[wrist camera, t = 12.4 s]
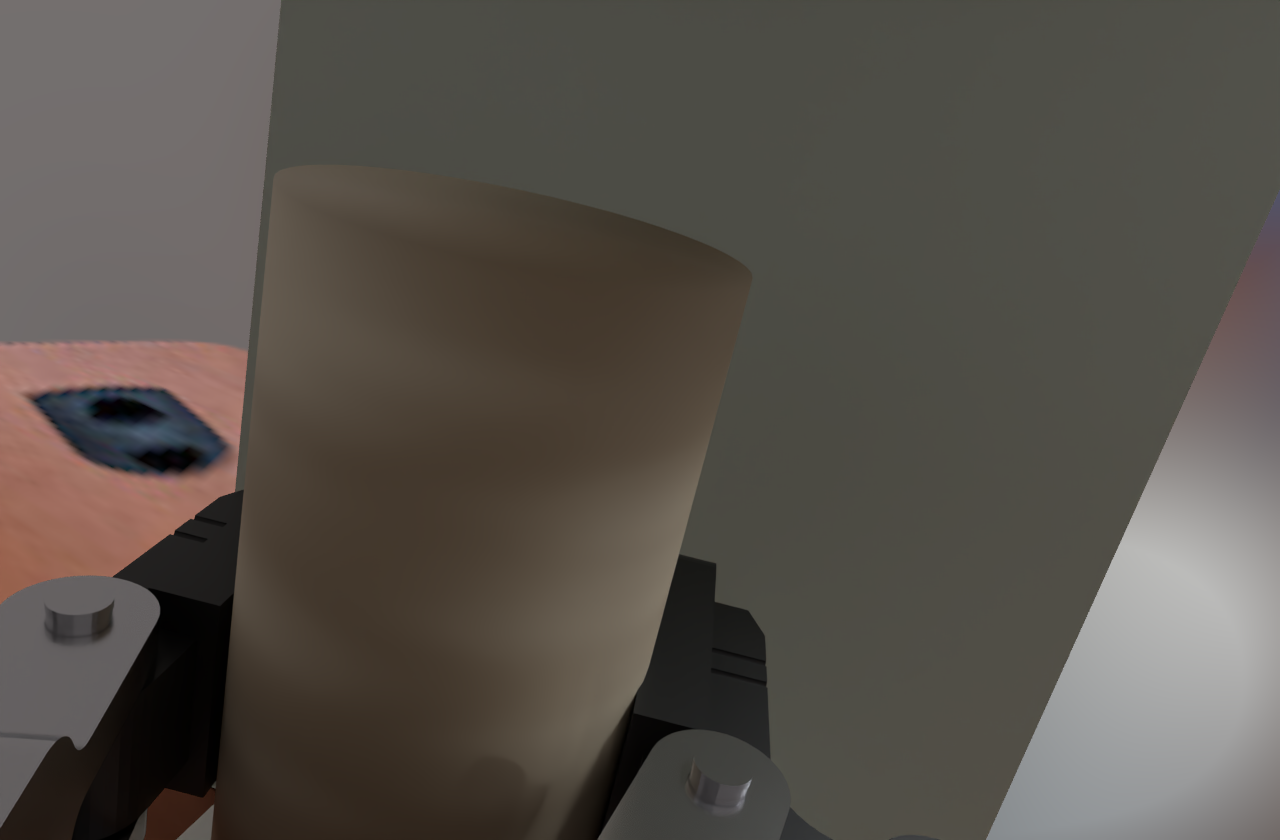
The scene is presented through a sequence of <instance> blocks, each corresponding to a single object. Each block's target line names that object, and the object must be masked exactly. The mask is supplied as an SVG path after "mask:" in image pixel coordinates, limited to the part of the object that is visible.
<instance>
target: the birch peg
mask: <svg viewBox="0 0 1280 840" xmlns="http://www.w3.org/2000/svg"><path fill="white" fill-rule="evenodd" d="M752 279H753V277H752V273H751V272H750V270H749V269H748V268H747V267H746V266H745V265H743V264H742V263H741V262H739V261H738V260H736V259H734V258H733V257H731V256H729V255H728V254H726V253H724V252H722V251H720V250H718V249H716V248H713V247H711V246H709V245H706V244H704V243H702V242H699V241H697V240H694V239H692V238H689V237H687V236H684V235H681V234H679V233H676V232H673V231H670V230H667V229H664V228H661V227H658V226H655V225H652V224H649V223H646V222H643V221H640V220H636V219H633V218H630V217H626V216H623V215H620V214H616V213H612V212H609V211H605V210H602V209H598V208H594V207H590V206H586V205H583V204H579V203H575V202H571V201H567V200H562V199H558V198H554V197H550V196H546V195H541V194H537V193H532V192H528V191H523V190H518V189H513V188H508V187H504V186H499V185H493V184H488V183H483V182H477V181H472V180H466V179H460V178H454V177H448V176H442V175H435V174H429V173H421V172H414V171H406V170H398V169H389V168H380V167H368V166H354V165H302V166H295V167H289V168H286V169H282V170H280V171H278V172H277V173H276V174H275V175H274V179H273V188H272V199H271V209H270V220H269V230H268V241H267V251H266V262H265V273H264V283H263V294H262V304H261V315H260V325H259V336H258V346H257V357H256V368H255V378H254V389H253V399H252V410H251V420H250V431H249V442H248V452H247V463H246V473H245V484H244V494H243V505H242V515H241V526H240V537H239V547H238V558H237V568H236V579H235V589H234V600H233V611H232V621H231V632H230V642H229V653H228V663H227V674H226V684H225V695H224V706H223V716H222V727H221V737H220V748H219V758H218V769H217V779H216V790H215V801H214V811H213V822H212V832H211V840H597V839H598V838H599V834H600V830H601V826H602V822H603V819H604V815H605V811H606V807H607V804H608V800H609V796H610V792H611V789H612V785H613V781H614V777H615V774H616V770H617V766H618V762H619V758H620V755H621V751H622V747H623V743H624V740H625V736H626V732H627V728H628V725H629V721H630V717H631V713H632V710H633V706H634V702H635V698H636V694H637V691H638V689H639V687H640V686H641V684H642V683H643V681H644V678H645V676H646V673H647V670H648V668H649V664H650V660H651V657H652V653H653V649H654V645H655V642H656V638H657V634H658V630H659V627H660V623H661V619H662V616H663V612H664V608H665V604H666V601H667V597H668V593H669V589H670V586H671V582H672V578H673V574H674V571H675V567H676V563H677V559H678V556H679V552H680V548H681V545H682V541H683V537H684V533H685V530H686V526H687V522H688V518H689V515H690V511H691V507H692V503H693V500H694V496H695V492H696V488H697V485H698V481H699V477H700V474H701V470H702V466H703V462H704V459H705V455H706V451H707V447H708V444H709V440H710V436H711V432H712V429H713V425H714V421H715V417H716V414H717V410H718V406H719V403H720V399H721V395H722V391H723V388H724V384H725V380H726V376H727V373H728V369H729V365H730V361H731V358H732V354H733V350H734V346H735V343H736V339H737V335H738V332H739V328H740V324H741V320H742V317H743V313H744V309H745V305H746V302H747V298H748V294H749V290H750V287H751V283H752Z"/></svg>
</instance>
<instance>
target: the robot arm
mask: <svg viewBox="0 0 1280 840" xmlns="http://www.w3.org/2000/svg"><path fill="white" fill-rule="evenodd" d="M243 494H244V489H243V490H240V491H237V492H234V493H231V494H228V495H225V496H222V497H219V498H218V499H217V500H215V501H214V502H213V503H211V504H210V505H209V506H207V507H206V508H205V509H203V510H202V511H200V512H199V513H198V514H196V515H195V519H194V520H193V519H190V520H188V521H187V522H186V523H184V524H183V525H182V526H180V527H179V528H178V529H176V530H175V533H174V535H168V536H167V537H166V538H164V539H163V540H162V541H160V542H159V543H158V544H156V545H155V546H153V547H152V548H151V549H149V550H148V551H147V552H145V553H144V554H143V555H141V556H140V557H139V558H137V559H136V560H135V561H133V562H132V563H131V564H129V565H128V566H127V567H125V568H124V569H123V570H121V571H120V572H119V573H117V574H116V575H115V576H113V577H106V576H73V577H64V578H58V579H53V580H49V581H45V582H41V583H38V584H35V585H32V586H29V587H27V588H25V589H23V590H21V591H18V592H16V593H15V594H13V595H12V596H10V597H9V598H7V599H6V600H5V601H4V602H3V603H2V604H1V605H0V840H144V836H145V833H146V821H147V808H148V807H149V806H150V805H151V804H152V802H153V801H154V800H155V799H156V798H157V796H158V795H159V794H160V793H161V792H162V791H163V789H164V788H168V789H172V790H175V791H179V792H183V793H187V794H191V795H194V796H198V797H202V798H203V797H204V796H205V795H206V793H207V792H208V791H209V789H210V788H211V787H212V786H213V784H214V783H215V782H216V779H217V769H218V758H219V748H220V737H221V727H222V716H223V706H224V695H225V684H226V674H227V663H228V653H229V642H230V632H231V621H232V611H233V600H234V589H235V579H236V568H237V558H238V547H239V537H240V526H241V515H242V505H243ZM715 585H716V563H713V562H709V561H705V560H701V559H697V558H693V557H689V556H685V555H681V554H679V556H678V559H677V563H676V567H675V571H674V574H673V578H672V582H671V586H670V589H669V593H668V597H667V601H666V604H665V608H664V612H663V616H662V619H661V623H660V627H659V630H658V634H657V638H656V642H655V645H654V649H653V653H652V657H651V660H650V664H649V668H648V670H647V673H646V676H645V678H644V681H643V683H642V684H641V686H640V687H639V689H638V691H637V694H636V698H635V702H634V706H633V710H632V713H631V717H630V721H629V725H628V728H627V732H626V736H625V740H624V743H623V747H622V751H621V755H620V758H619V762H618V766H617V770H616V774H615V777H614V781H613V785H612V789H611V792H610V796H609V800H608V804H607V807H606V811H605V815H604V819H603V822H602V826H601V830H600V834H599V838H598V839H597V840H833V839H831V838H829V837H827V836H826V835H824V834H822V833H820V832H819V831H818V830H816V829H815V828H813V827H812V826H810V825H809V824H808V823H807V822H805V821H804V820H803V819H802V818H801V817H800V816H798V815H797V814H796V813H795V811H794V810H793V809H792V808H791V807H790V803H791V795H790V790H789V787H788V783H787V781H786V779H785V778H784V776H783V774H782V773H781V771H780V770H779V769H778V767H777V766H776V765H775V764H774V763H773V762H772V761H771V755H770V733H769V710H768V688H767V687H766V685H767V666H765V664H766V644H765V635H764V633H763V632H762V630H761V629H760V627H759V626H758V624H757V623H756V621H755V620H754V618H753V617H752V615H751V614H750V612H749V611H748V610H745V609H741V608H737V607H734V606H730V605H726V604H722V603H718V602H715ZM889 840H939V839H936V838H932V837H927V836H920V835H902V836H897V837H894V838H891V839H889Z"/></svg>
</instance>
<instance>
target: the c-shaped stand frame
mask: <svg viewBox="0 0 1280 840" xmlns="http://www.w3.org/2000/svg"><path fill="white" fill-rule="evenodd" d="M302 165H354V166H368V167H380V168H389V169H398V170H406V171H414V172H421V173H429V174H435V175H442V176H448V177H454V178H460V179H466V180H472V181H477V182H483V183H488V184H493V185H499V186H504V187H508V188H513V189H518V190H523V191H528V192H532V193H537V194H541V195H546V196H550V197H554V198H558V199H562V200H567V201H571V202H575V203H579V204H583V205H586V206H590V207H594V208H598V209H602V210H605V211H609V212H612V213H616V214H620V215H623V216H626V217H630V218H633V219H636V220H640V221H643V222H646V223H649V224H652V225H655V226H658V227H661V228H664V229H667V230H670V231H673V232H676V233H679V234H681V235H684V236H687V237H689V238H692V239H694V240H697V241H699V242H702V243H704V244H706V245H709V246H711V247H713V248H716V249H718V250H720V251H722V252H724V253H726V254H728V255H729V256H731V257H733V258H734V259H736V260H738V261H739V262H741V263H742V264H743V265H745V266H746V267H747V268H748V269H749V270H750V272H751V273H752V277H753V279H752V283H751V287H750V290H749V294H748V298H747V302H746V305H745V309H744V313H743V317H742V320H741V324H740V328H739V332H738V335H737V339H736V343H735V346H734V350H733V354H732V358H731V361H730V365H729V369H728V373H727V376H726V380H725V384H724V388H723V391H722V395H721V399H720V403H719V406H718V410H717V414H716V417H715V421H714V425H713V429H712V432H711V436H710V440H709V444H708V447H707V451H706V455H705V459H704V462H703V466H702V470H701V474H700V477H699V481H698V485H697V488H696V492H695V496H694V500H693V503H692V507H691V511H690V515H689V518H688V522H687V526H686V530H685V533H684V537H683V541H682V545H681V548H680V552H679V554H681V555H685V556H689V557H693V558H697V559H701V560H705V561H709V562H713V563H716V585H715V602H718V603H722V604H726V605H730V606H734V607H737V608H741V609H745V610H748V611H749V612H750V614H751V615H752V617H753V618H754V620H755V621H756V623H757V624H758V626H759V627H760V629H761V630H762V632H763V633H764V635H765V644H766V664H765V666H767V685H766V687H767V688H768V710H769V733H770V755H771V761H772V762H773V763H774V764H775V765H776V766H777V767H778V769H779V770H780V771H781V773H782V774H783V776H784V778H785V779H786V781H787V783H788V787H789V790H790V795H791V803H790V807H791V808H792V809H793V810H794V811H795V813H796V814H797V815H798V816H800V817H801V818H802V819H803V820H804V821H805V822H807V823H808V824H809V825H810V826H812V827H813V828H815V829H816V830H818V831H819V832H820V833H822V834H824V835H826V836H827V837H829V838H831V839H833V840H889V839H891V838H894V837H897V836H902V835H920V836H927V837H932V838H936V839H939V840H986V838H987V836H988V834H989V831H990V829H991V827H992V825H993V822H994V820H995V818H996V816H997V814H998V811H999V809H1000V807H1001V805H1002V803H1003V800H1004V798H1005V796H1006V794H1007V792H1008V789H1009V787H1010V785H1011V783H1012V781H1013V778H1014V776H1015V774H1016V772H1017V769H1018V767H1019V765H1020V763H1021V760H1022V758H1023V756H1024V754H1025V752H1026V750H1027V747H1028V745H1029V743H1030V741H1031V738H1032V736H1033V734H1034V732H1035V729H1036V727H1037V725H1038V723H1039V721H1040V719H1041V716H1042V714H1043V712H1044V710H1045V707H1046V705H1047V703H1048V701H1049V698H1050V696H1051V694H1052V692H1053V690H1054V688H1055V685H1056V683H1057V681H1058V679H1059V676H1060V674H1061V672H1062V670H1063V667H1064V665H1065V663H1066V661H1067V659H1068V657H1069V654H1070V652H1071V650H1072V648H1073V645H1074V643H1075V641H1076V639H1077V637H1078V634H1079V632H1080V630H1081V628H1082V626H1083V623H1084V621H1085V619H1086V617H1087V614H1088V612H1089V610H1090V608H1091V606H1092V604H1093V601H1094V599H1095V597H1096V595H1097V592H1098V590H1099V588H1100V586H1101V583H1102V581H1103V579H1104V577H1105V574H1106V573H1107V570H1108V568H1109V566H1110V563H1111V561H1112V559H1113V557H1114V555H1115V553H1116V550H1117V548H1118V546H1119V544H1120V541H1121V539H1122V537H1123V535H1124V532H1125V530H1126V528H1127V526H1128V524H1129V522H1130V519H1131V517H1132V515H1133V513H1134V511H1135V508H1136V506H1137V504H1138V501H1139V499H1140V497H1141V495H1142V493H1143V491H1144V488H1145V486H1146V484H1147V482H1148V480H1149V477H1150V475H1151V473H1152V471H1153V469H1154V466H1155V464H1156V462H1157V460H1158V457H1159V455H1160V453H1161V451H1162V449H1163V446H1164V444H1165V442H1166V440H1167V438H1168V435H1169V433H1170V431H1171V429H1172V426H1173V424H1174V422H1175V420H1176V418H1177V415H1178V413H1179V411H1180V409H1181V407H1182V404H1183V402H1184V400H1185V398H1186V396H1187V393H1188V391H1189V389H1190V387H1191V384H1192V382H1193V380H1194V378H1195V376H1196V373H1197V371H1198V369H1199V367H1200V364H1201V362H1202V360H1203V358H1204V356H1205V353H1206V351H1207V349H1208V347H1209V344H1210V342H1211V340H1212V338H1213V336H1214V334H1215V331H1216V329H1217V327H1218V325H1219V323H1220V320H1221V318H1222V316H1223V314H1224V311H1225V309H1226V307H1227V305H1228V302H1229V300H1230V298H1231V296H1232V294H1233V291H1234V289H1235V287H1236V285H1237V283H1238V280H1239V278H1240V276H1241V274H1242V272H1243V269H1244V267H1245V265H1246V263H1247V261H1248V258H1249V256H1250V254H1251V251H1252V249H1253V247H1254V245H1255V243H1256V241H1257V238H1258V236H1259V234H1260V232H1261V230H1262V227H1263V225H1264V223H1265V221H1266V219H1267V216H1268V214H1269V212H1270V210H1271V207H1272V205H1273V203H1274V201H1275V199H1276V196H1277V194H1278V192H1279V190H1280V0H281V10H280V20H279V31H278V42H277V52H276V62H275V73H274V84H273V94H272V105H271V116H270V127H269V137H268V148H267V158H266V170H265V180H264V190H263V201H262V212H261V222H260V223H261V224H260V233H259V243H258V255H257V265H256V275H255V286H254V297H253V308H252V318H251V329H250V340H249V350H248V360H247V371H246V382H245V392H244V403H243V414H242V424H241V435H240V446H239V456H238V467H237V478H236V488H235V492H237V491H240V490H243V489H244V484H245V473H246V463H247V452H248V442H249V431H250V420H251V410H252V399H253V389H254V378H255V368H256V357H257V346H258V336H259V325H260V315H261V304H262V294H263V283H264V273H265V262H266V251H267V241H268V230H269V220H270V209H271V199H272V188H273V179H274V175H275V174H276V173H277V172H278V171H280V170H282V169H286V168H289V167H295V166H302ZM212 788H215V789H216V782H215V783H214V784H213V786H212Z"/></svg>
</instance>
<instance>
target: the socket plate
mask: <svg viewBox="0 0 1280 840" xmlns="http://www.w3.org/2000/svg"><path fill="white" fill-rule="evenodd" d="M213 811H214V804H213V805H212V806H211V807H210V808H209V809H208V810H207V811H206V812H205V813H204V814H203V815H202V816H201V817H200V818H199V819H198V820H196V821H195V822H194V823H193V824H192V825H191V826H190V827H189V828H188V829H187V830H186V831H185V832H184V833H183V834H182V835H181V836H179V837H178V838H177V839H176V840H211V832H212V822H213Z"/></svg>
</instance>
